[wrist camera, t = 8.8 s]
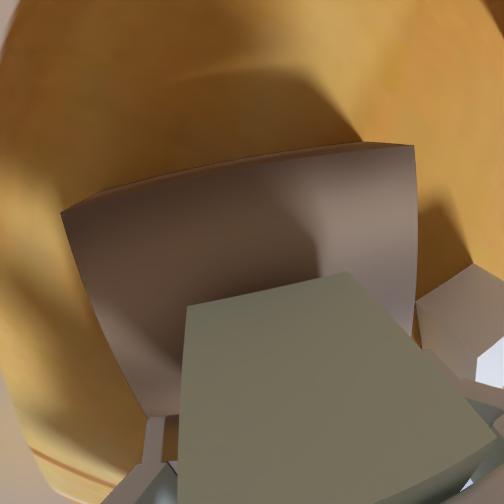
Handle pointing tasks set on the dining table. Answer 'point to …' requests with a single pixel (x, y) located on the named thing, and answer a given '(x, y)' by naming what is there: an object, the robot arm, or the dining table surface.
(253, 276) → the walnut block
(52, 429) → the dining table surface
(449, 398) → the green block
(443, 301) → the grey block
